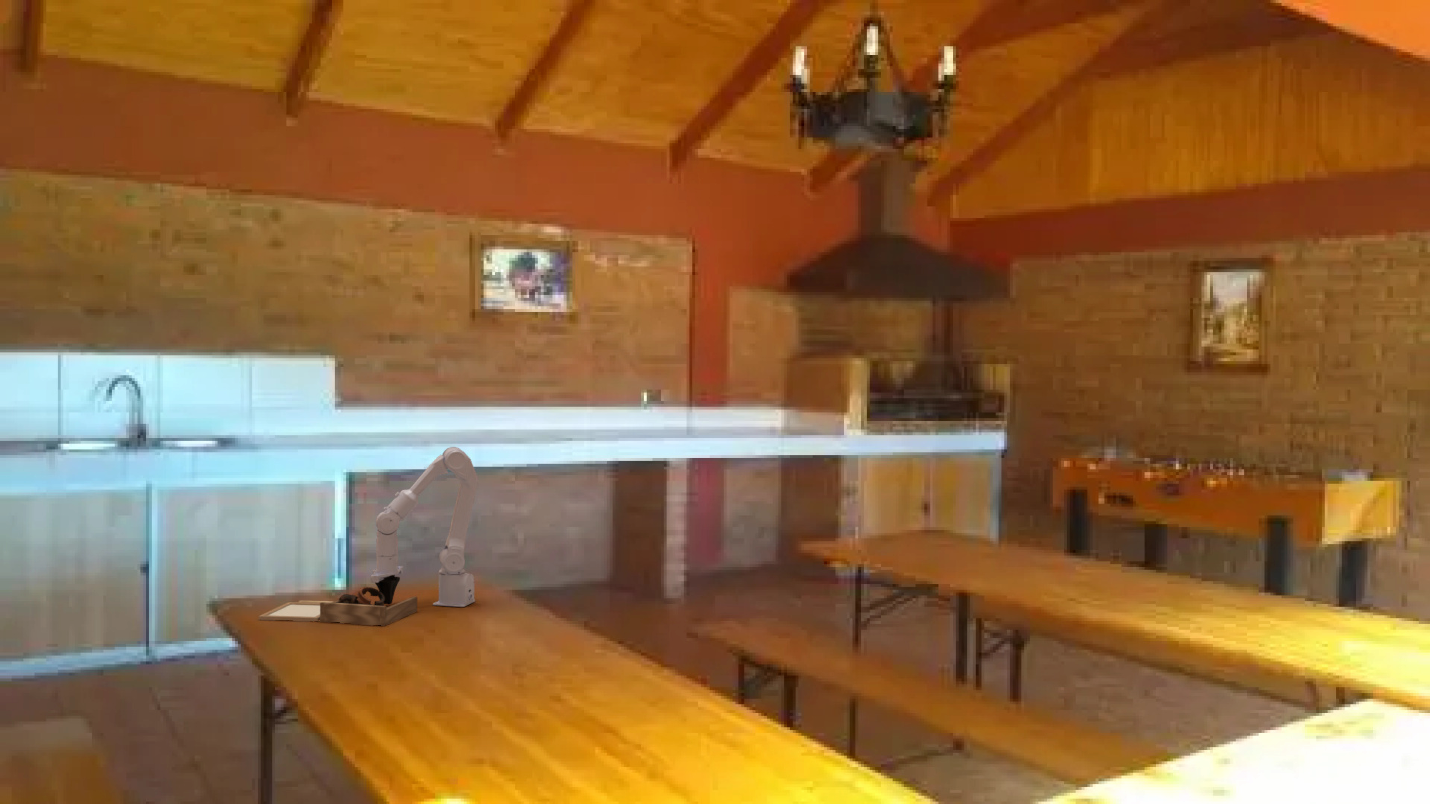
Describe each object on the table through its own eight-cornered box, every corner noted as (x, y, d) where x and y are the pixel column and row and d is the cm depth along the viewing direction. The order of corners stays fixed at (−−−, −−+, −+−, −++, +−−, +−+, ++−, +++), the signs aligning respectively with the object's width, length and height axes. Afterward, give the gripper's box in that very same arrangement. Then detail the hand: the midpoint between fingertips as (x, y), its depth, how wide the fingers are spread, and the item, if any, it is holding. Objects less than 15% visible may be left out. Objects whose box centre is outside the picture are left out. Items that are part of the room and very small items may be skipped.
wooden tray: (417, 611, 307) (417, 593, 307) (384, 626, 290) (384, 607, 290) (356, 607, 311) (356, 589, 311) (320, 621, 294) (320, 602, 294)
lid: (348, 605, 314) (348, 601, 314) (317, 621, 294) (317, 618, 294) (293, 603, 315) (293, 600, 315) (258, 620, 295) (258, 616, 295)
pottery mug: (369, 610, 311) (381, 585, 309) (379, 631, 304) (392, 606, 302) (328, 604, 303) (341, 580, 301) (338, 626, 296) (351, 601, 294)
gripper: (386, 550, 319) (387, 597, 319) (360, 558, 305) (360, 608, 305) (409, 551, 317) (409, 598, 318) (384, 560, 303) (384, 610, 304)
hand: (387, 603), depth 311 cm, fingers closed
